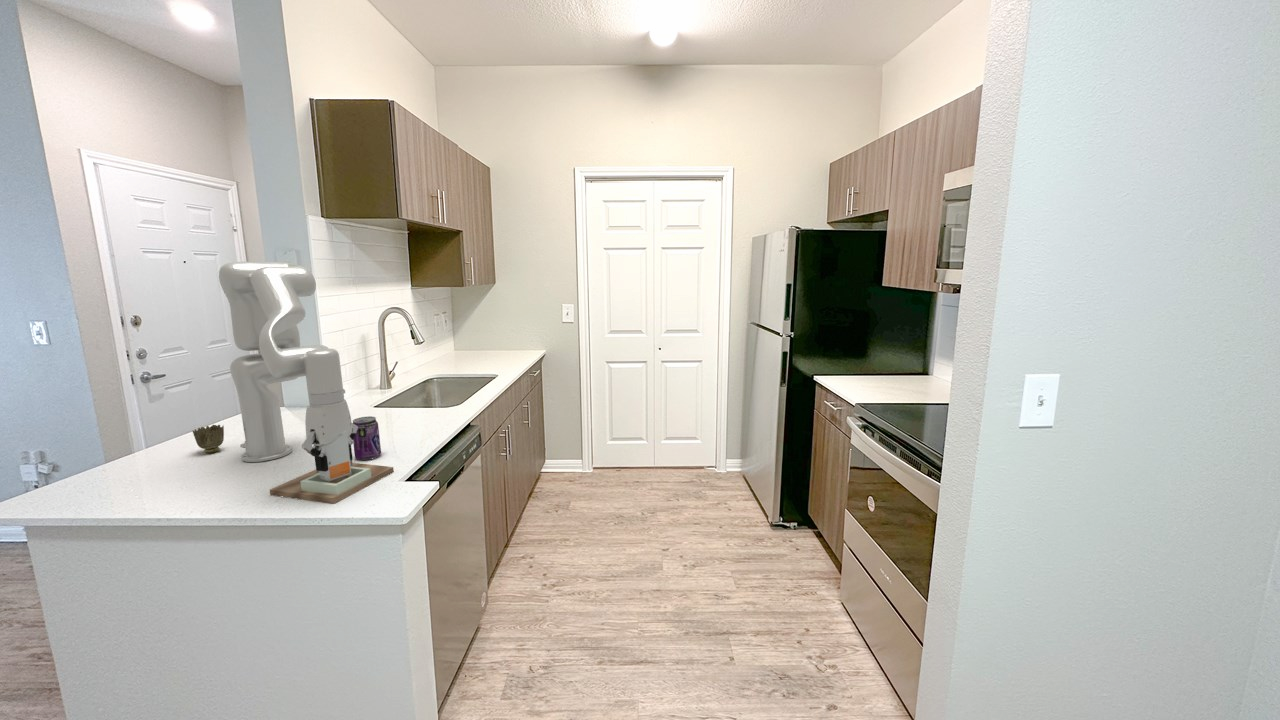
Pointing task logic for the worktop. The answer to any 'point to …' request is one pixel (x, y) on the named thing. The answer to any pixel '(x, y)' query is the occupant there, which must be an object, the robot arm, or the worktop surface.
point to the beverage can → (366, 438)
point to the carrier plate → (294, 485)
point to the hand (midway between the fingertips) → (334, 464)
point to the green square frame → (321, 486)
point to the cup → (209, 438)
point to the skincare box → (337, 458)
